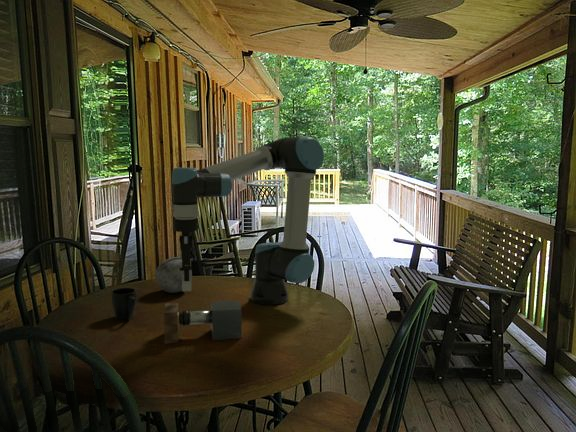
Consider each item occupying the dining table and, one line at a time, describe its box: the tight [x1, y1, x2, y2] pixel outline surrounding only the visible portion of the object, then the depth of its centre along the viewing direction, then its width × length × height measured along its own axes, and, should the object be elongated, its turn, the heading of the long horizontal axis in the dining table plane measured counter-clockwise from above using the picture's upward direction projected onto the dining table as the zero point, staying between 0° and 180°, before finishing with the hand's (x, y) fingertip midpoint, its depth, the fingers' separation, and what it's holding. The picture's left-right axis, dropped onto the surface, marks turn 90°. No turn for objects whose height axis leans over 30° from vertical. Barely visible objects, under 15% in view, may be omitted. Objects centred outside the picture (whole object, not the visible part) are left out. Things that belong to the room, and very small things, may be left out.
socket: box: [163, 302, 180, 344], centre depth 140 cm, size 4×9×10 cm, turn 12°
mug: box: [110, 287, 137, 321], centre depth 156 cm, size 8×12×10 cm
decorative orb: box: [154, 256, 193, 294], centre depth 187 cm, size 15×14×15 cm
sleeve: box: [210, 299, 242, 341], centre depth 144 cm, size 9×9×10 cm
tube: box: [178, 309, 212, 327], centre depth 142 cm, size 14×5×5 cm, turn 102°
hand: (187, 284), depth 140 cm, fingers open, 13 cm apart
